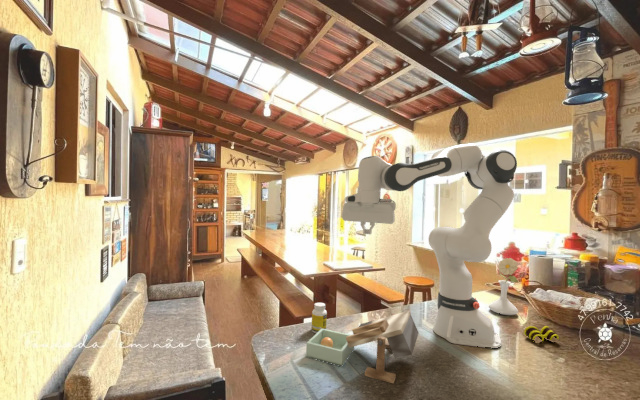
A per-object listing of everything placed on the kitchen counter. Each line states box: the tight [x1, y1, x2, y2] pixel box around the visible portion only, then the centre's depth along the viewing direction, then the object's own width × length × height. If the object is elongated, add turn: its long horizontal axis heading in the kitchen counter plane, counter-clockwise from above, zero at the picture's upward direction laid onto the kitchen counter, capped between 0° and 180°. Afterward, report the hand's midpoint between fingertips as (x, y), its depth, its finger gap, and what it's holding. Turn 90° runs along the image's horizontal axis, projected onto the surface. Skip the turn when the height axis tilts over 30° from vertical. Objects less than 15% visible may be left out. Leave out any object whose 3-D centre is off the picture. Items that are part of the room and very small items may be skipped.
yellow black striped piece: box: [523, 325, 560, 342], centre depth 114 cm, size 10×5×5 cm, turn 96°
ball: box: [321, 337, 333, 348], centre depth 101 cm, size 4×4×4 cm
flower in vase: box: [488, 257, 519, 316], centre depth 140 cm, size 13×11×25 cm
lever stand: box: [364, 312, 397, 384], centre depth 97 cm, size 8×22×11 cm, turn 156°
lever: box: [346, 310, 419, 359], centre depth 97 cm, size 17×16×9 cm
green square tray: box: [305, 328, 355, 367], centre depth 100 cm, size 12×12×4 cm
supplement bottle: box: [310, 302, 328, 334], centre depth 116 cm, size 5×5×10 cm
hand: (367, 234), depth 123 cm, fingers closed
